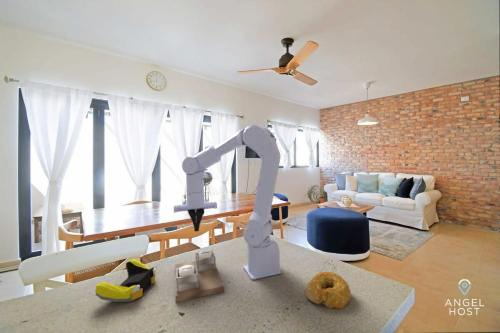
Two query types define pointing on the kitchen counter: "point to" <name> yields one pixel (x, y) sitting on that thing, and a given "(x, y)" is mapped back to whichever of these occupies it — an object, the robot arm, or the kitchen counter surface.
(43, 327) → the kitchen counter surface
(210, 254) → the knob right
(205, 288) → the knob board
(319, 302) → the bagel
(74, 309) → the kitchen counter surface
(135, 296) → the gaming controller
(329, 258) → the kitchen counter surface
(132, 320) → the kitchen counter surface
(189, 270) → the knob left
